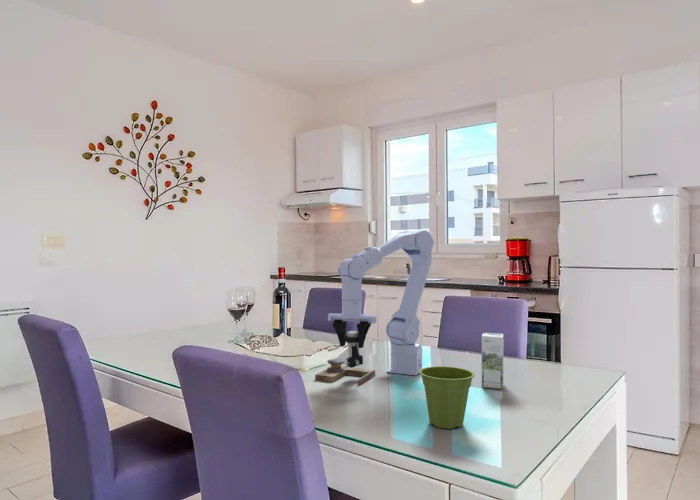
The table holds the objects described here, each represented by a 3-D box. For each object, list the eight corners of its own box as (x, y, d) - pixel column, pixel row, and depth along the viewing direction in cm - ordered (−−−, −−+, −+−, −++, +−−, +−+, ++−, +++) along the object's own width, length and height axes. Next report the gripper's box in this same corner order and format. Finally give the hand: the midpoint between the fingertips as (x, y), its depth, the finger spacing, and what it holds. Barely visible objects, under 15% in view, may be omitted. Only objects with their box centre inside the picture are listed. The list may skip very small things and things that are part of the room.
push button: (350, 371, 142) (349, 337, 140) (338, 367, 145) (336, 333, 144) (367, 364, 146) (365, 331, 145) (354, 361, 150) (353, 328, 149)
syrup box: (503, 384, 139) (503, 332, 139) (503, 390, 134) (503, 336, 134) (482, 382, 141) (482, 331, 141) (481, 388, 136) (481, 335, 136)
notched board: (375, 375, 149) (375, 361, 149) (359, 385, 138) (359, 370, 138) (333, 370, 155) (333, 357, 155) (315, 379, 144) (315, 365, 144)
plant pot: (482, 433, 103) (482, 378, 103) (425, 434, 102) (426, 379, 102) (464, 413, 115) (464, 365, 115) (414, 415, 114) (414, 366, 114)
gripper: (323, 300, 144) (323, 347, 144) (369, 302, 138) (369, 351, 138) (333, 297, 150) (333, 342, 150) (378, 299, 144) (378, 346, 144)
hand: (351, 346), depth 144 cm, fingers closed on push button, 5 cm apart
